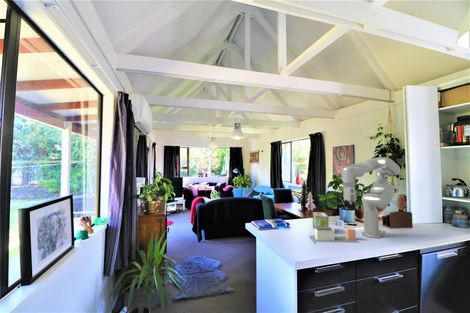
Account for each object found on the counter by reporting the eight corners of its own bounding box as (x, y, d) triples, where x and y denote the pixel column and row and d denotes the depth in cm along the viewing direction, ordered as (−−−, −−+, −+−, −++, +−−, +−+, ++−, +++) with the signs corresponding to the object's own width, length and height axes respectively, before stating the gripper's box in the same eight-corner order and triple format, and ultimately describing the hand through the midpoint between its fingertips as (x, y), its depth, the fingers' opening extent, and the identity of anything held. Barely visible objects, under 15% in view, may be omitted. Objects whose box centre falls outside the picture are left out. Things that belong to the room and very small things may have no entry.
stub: (353, 238, 163) (352, 228, 163) (355, 240, 159) (355, 230, 159) (345, 238, 163) (345, 228, 163) (348, 240, 159) (348, 229, 159)
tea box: (329, 235, 172) (328, 216, 173) (315, 235, 174) (314, 215, 175) (325, 230, 187) (325, 212, 187) (312, 229, 189) (312, 211, 189)
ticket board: (350, 237, 168) (350, 225, 168) (360, 244, 154) (359, 230, 154) (309, 237, 169) (309, 224, 170) (314, 243, 155) (314, 230, 156)
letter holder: (413, 228, 192) (412, 211, 193) (390, 228, 191) (390, 211, 191) (403, 225, 202) (403, 209, 202) (382, 225, 201) (381, 209, 201)
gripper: (360, 185, 154) (361, 211, 154) (348, 183, 172) (349, 206, 171) (348, 186, 155) (350, 211, 154) (338, 183, 172) (339, 206, 172)
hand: (349, 208), depth 163 cm, fingers open, 9 cm apart
